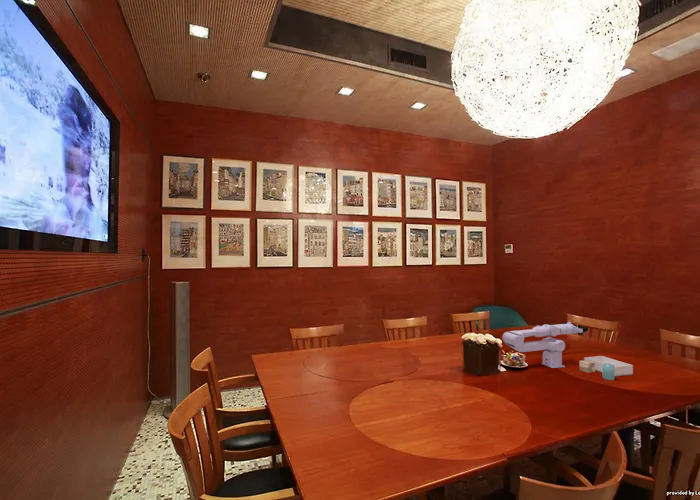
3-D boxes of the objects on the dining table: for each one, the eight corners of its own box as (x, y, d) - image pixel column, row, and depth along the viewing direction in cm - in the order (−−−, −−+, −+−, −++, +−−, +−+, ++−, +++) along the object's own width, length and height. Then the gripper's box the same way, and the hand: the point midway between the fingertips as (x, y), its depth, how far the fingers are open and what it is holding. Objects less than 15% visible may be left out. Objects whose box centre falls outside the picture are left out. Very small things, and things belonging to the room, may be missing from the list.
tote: (613, 376, 182) (613, 366, 182) (584, 366, 199) (584, 357, 199) (632, 374, 185) (632, 365, 185) (602, 364, 202) (602, 355, 202)
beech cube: (587, 372, 188) (587, 363, 188) (579, 369, 193) (579, 360, 193) (595, 372, 189) (595, 362, 189) (586, 369, 194) (586, 360, 194)
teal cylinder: (609, 380, 176) (609, 366, 176) (600, 377, 181) (600, 363, 181) (616, 379, 177) (616, 366, 178) (607, 376, 182) (607, 363, 182)
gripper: (573, 324, 195) (592, 322, 198) (552, 320, 209) (571, 319, 212) (573, 336, 194) (593, 335, 197) (553, 332, 208) (571, 330, 211)
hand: (582, 327), depth 204 cm, fingers open, 7 cm apart
